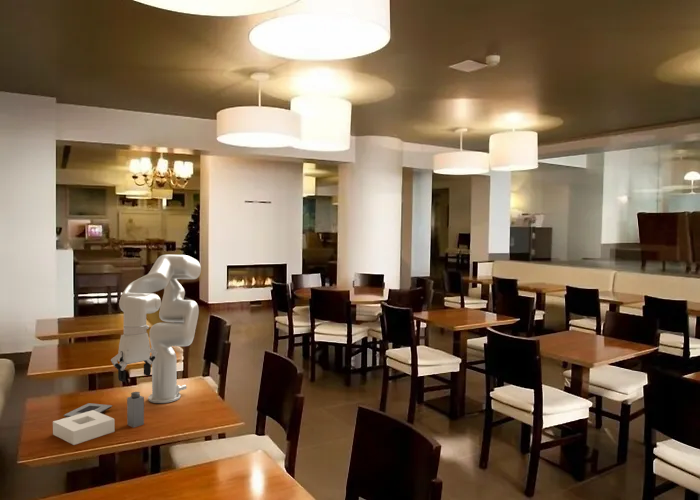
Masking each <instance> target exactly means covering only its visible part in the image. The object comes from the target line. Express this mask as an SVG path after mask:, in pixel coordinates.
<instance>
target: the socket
mask: <svg viewBox="0 0 700 500" xmlns="http://www.w3.org/2000/svg"><path fill="white" fill-rule="evenodd" d="M115 426H116V425H115V418H113V417H112V416H109V415H107V414H104V413H103V412H102V413H99V412H97V411H94V410H92V411H88V412H85V413H81V414H78V415H74V416H71V417H64V418H60V419H57V420H56V419H55V420H53V421H52V435H53V436H55V437H57V438H59V439H61V440H63V441H65V442H67V443H69V444H71V445H73V446H75V445H78V444H81V443H84V442H87V441H90V440H93V439H97V438H99V437H102V436H105V435H108V434H112V433H114V432H115Z"/></svg>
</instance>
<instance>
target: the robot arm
mask: <svg viewBox="0 0 700 500" xmlns="http://www.w3.org/2000/svg"><path fill="white" fill-rule="evenodd" d="M201 272H202V266H201V263H200V262H199V260H198V259H196V258H194V257H192V256H190V255H186V254H162V255H159V256H158V258H156V260H155V262H154V263H153V265H152V267H151V269H150V271H148V273H147V274H145V275H142V277H139V278H136V280H133V281H132V282H130V283H129V284H128V285H127V286H126V287H125V289H124V291H122V294H121V295H120V299H119V303H118V305H119V306H118V307H119V309H120V311H122V312H123V334H121V335H120V338H119V339H120V340H119V343H118V351H117V352H118V353H117V354H116V355H115V356H114V357H112V358H111V359H110V362H111V363H112V366H113V367H114V368H115V369H116V370H118V372H117V377H118V378H117V379H118V380H119V382H123V383H124V382H126V381H127V380H126V373H127V372H126V370H125V368H127V366H128V365H131V364H136V363H140V362H142V363H143V362H144V363H143V375H144V376H148V377H150V376H151V379H152V381H151V383H152V386H151V391H152V392H151V394H149V395H148V398H147V400H148V402H150V403H153V404H168V403H172V402H176V401H178V400H180V398H181V393H180V392H181V391H184V390H187V388H188V387H187V385H186V384H182V385H180V384H177V382H178V381H177V376H178V375H177V372H178V371H177V370H178V369H177V364H178V363H177V362H178V361H177V359H178V357H177V353H176V352H175V349H174V348H173V347H189V346H191V344H193V341H194V338H195V333H196V330H197V329H196V328H197V324H198V319H199V313H200V309H199V305H198V303H197V302H196V301H195V300H193V299H192V300H191V299H185V295H186V291H185V288H184V287H183V286H182V284H181V283H180V282H179V280H196V279H198V278H199V277H200V275H201ZM161 290H164V291H163V296H162V300H161V297H160V296H159V295H158V294H156V292H159V291H161ZM158 311H159V313H158V316H159V319H160V320H161V321H162V322H157V323H154V324H153V325H152V326H151V327H150V325H147V314H155V313H156V312H158ZM147 330H149V334H148V331H147ZM118 362H119V363H118Z"/></svg>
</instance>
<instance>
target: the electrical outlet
mask: <svg viewBox="0 0 700 500" xmlns="http://www.w3.org/2000/svg"><path fill="white" fill-rule="evenodd" d="M112 407H113V405H111V404H99V403H89V402H88V403H86V404H84V405H82V406H80V407H78V408H75V409H73V410H71V411H69V412H67V413H65V414H63V417H64V418H67V417H71V416H74V415H78V414H81V413H85V412H88V411H92V410H94V411H97V412H99V413H102V414H103V412H105V411H107V410H109V409H111V408H112Z"/></svg>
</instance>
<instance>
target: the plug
mask: <svg viewBox="0 0 700 500" xmlns="http://www.w3.org/2000/svg"><path fill="white" fill-rule="evenodd" d="M140 393H141V392H140V391H133V392H131V393H130V395H131V396H128V397H126V400H127V402H126V406H127V407H126V408H127V409H126V411H127V413H126V416H127V418H126V420H127V426H129V427H130V428H133V429H134V428H137V427H141V426H143V425H145V397H144V396H142V395H141V394H140Z"/></svg>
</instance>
